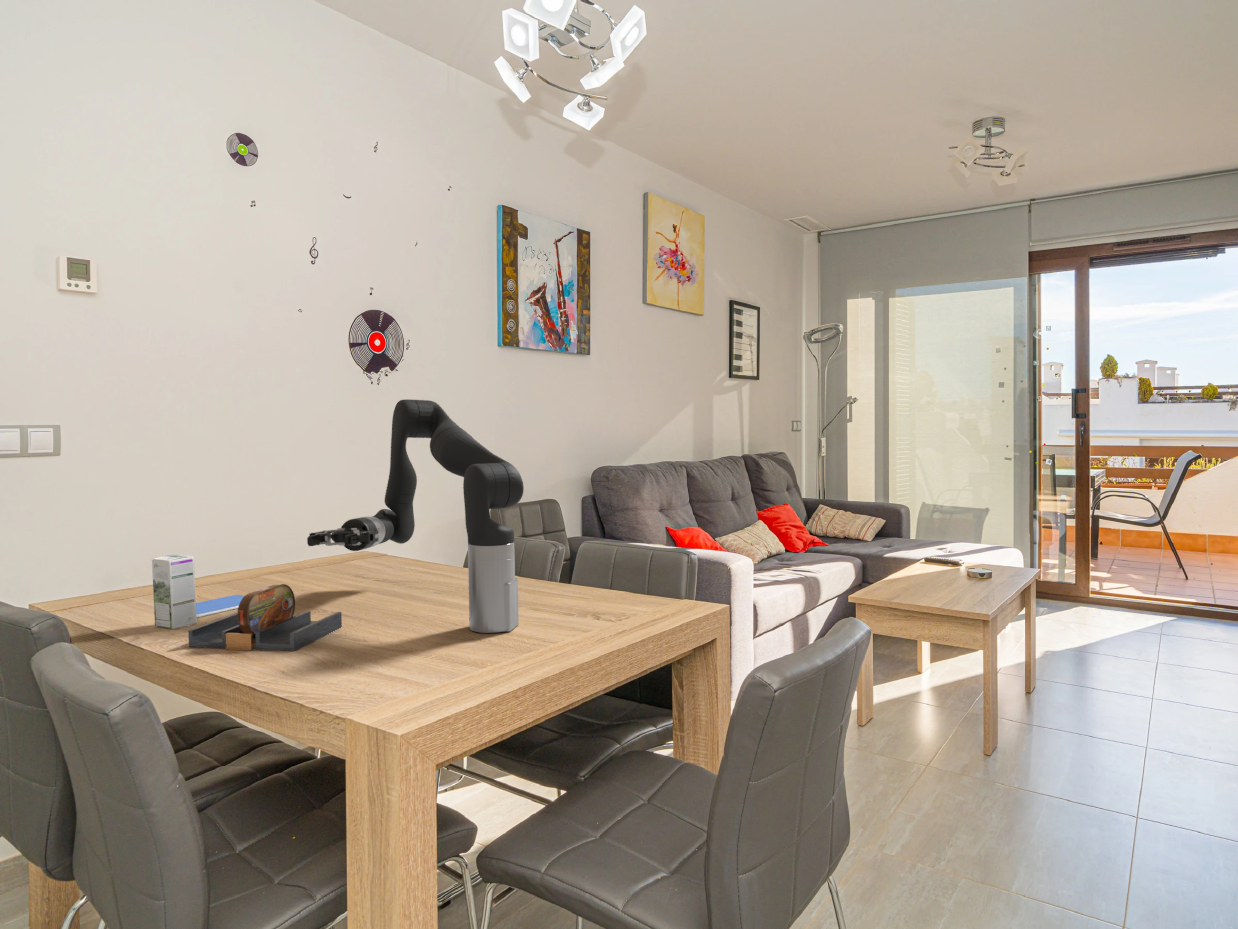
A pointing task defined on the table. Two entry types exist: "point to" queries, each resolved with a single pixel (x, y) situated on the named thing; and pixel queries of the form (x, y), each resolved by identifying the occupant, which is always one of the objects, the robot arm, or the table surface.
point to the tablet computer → (218, 605)
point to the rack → (263, 633)
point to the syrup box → (174, 591)
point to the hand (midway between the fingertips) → (327, 541)
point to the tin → (265, 608)
